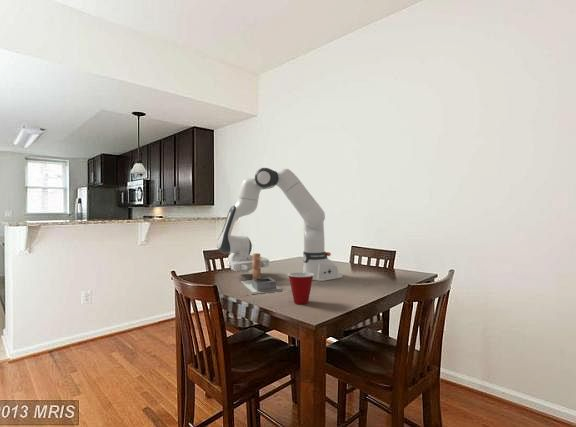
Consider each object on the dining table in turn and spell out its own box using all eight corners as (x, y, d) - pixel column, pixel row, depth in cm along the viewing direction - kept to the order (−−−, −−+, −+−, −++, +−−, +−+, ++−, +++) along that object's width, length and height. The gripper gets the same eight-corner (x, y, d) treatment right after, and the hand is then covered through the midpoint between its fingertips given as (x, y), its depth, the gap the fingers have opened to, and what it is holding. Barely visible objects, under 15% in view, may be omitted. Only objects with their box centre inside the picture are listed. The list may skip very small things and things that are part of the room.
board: (266, 281, 170) (266, 271, 170) (282, 291, 150) (281, 281, 150) (240, 284, 165) (240, 274, 165) (252, 295, 145) (252, 284, 145)
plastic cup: (314, 298, 139) (314, 270, 138) (314, 306, 128) (313, 276, 128) (289, 298, 140) (288, 270, 139) (286, 306, 129) (286, 275, 129)
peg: (259, 280, 166) (259, 253, 165) (261, 282, 162) (261, 254, 162) (251, 281, 164) (251, 253, 164) (253, 283, 160) (253, 254, 160)
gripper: (226, 258, 169) (237, 262, 157) (261, 255, 180) (274, 258, 168) (226, 270, 169) (237, 275, 157) (262, 266, 180) (274, 270, 168)
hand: (256, 266), depth 163 cm, fingers open, 8 cm apart
